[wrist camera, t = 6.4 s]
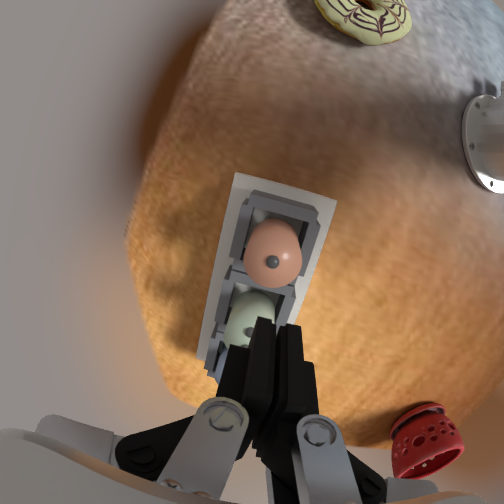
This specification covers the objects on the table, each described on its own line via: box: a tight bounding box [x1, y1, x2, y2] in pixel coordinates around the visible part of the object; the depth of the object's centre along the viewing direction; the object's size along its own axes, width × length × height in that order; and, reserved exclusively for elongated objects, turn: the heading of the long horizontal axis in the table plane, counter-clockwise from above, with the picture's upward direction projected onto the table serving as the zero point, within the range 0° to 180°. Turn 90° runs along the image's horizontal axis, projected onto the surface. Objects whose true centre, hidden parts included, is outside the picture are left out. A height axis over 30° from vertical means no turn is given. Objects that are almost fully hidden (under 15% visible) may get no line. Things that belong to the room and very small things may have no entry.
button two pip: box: [224, 290, 275, 349], centre depth 23 cm, size 4×4×5 cm
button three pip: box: [214, 343, 228, 385], centre depth 28 cm, size 4×4×5 cm
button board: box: [196, 172, 337, 378], centre depth 28 cm, size 23×10×5 cm, turn 166°
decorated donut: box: [314, 0, 412, 46], centre depth 17 cm, size 10×11×4 cm
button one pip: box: [244, 218, 302, 288], centre depth 21 cm, size 4×4×5 cm
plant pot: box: [390, 403, 464, 480], centre depth 31 cm, size 13×13×12 cm
